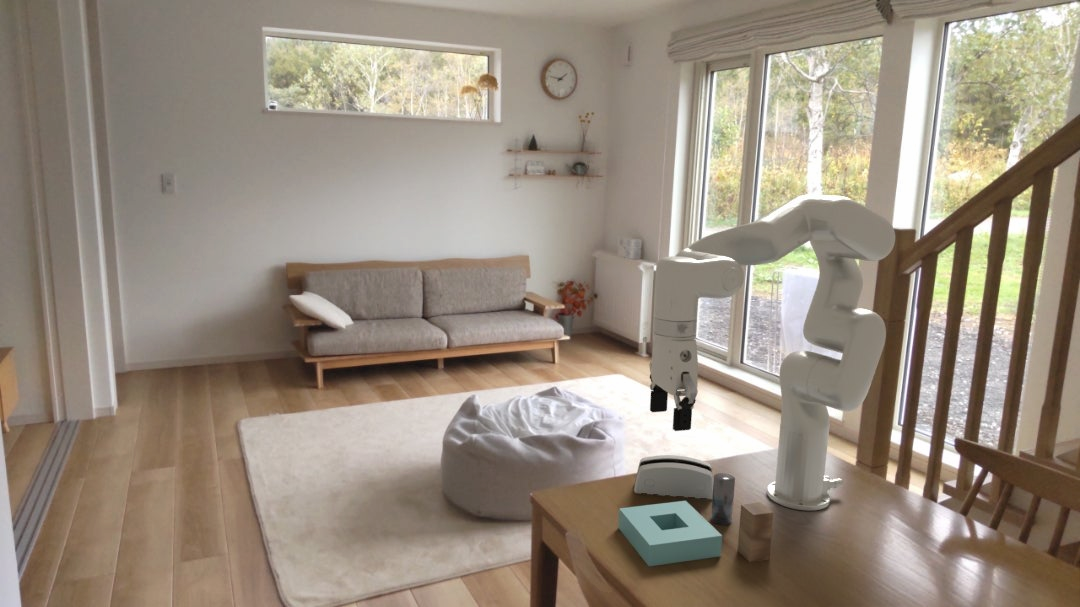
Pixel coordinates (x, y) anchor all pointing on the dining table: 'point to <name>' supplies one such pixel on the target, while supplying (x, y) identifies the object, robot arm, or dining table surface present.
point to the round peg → (722, 499)
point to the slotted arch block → (674, 476)
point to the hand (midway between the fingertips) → (669, 420)
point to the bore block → (669, 533)
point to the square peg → (755, 532)
